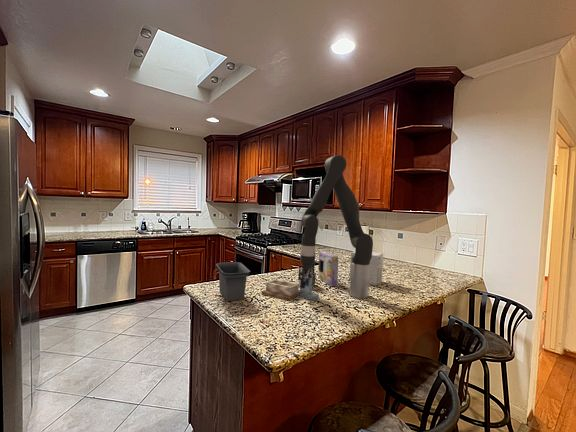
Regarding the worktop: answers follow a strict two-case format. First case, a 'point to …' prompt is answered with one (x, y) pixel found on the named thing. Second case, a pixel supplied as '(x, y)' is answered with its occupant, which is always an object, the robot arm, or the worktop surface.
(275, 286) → the well block
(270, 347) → the worktop surface
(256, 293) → the worktop surface
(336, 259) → the cake pan box
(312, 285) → the medicine bottle
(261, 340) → the worktop surface
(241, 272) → the storage bin
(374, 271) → the supplement box
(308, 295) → the bracket
